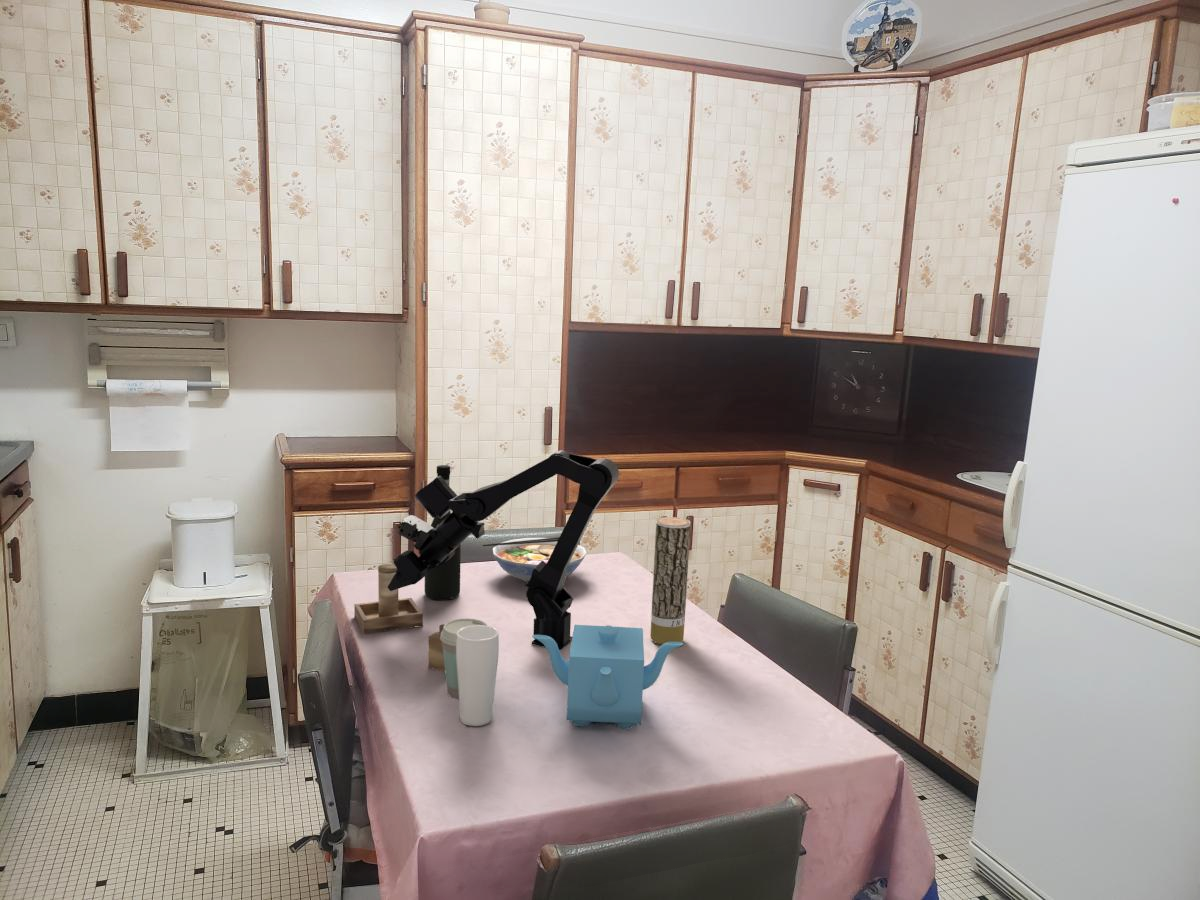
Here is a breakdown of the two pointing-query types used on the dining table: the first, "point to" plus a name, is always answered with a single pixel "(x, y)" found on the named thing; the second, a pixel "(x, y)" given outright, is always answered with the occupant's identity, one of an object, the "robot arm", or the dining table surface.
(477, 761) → the dining table surface
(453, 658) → the coffee cup
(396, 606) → the beech dowel
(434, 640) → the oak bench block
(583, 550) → the ramen bowl
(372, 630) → the walnut tray
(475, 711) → the drinking glass
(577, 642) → the teakettle
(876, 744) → the dining table surface
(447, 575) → the wine bottle
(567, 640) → the robot arm
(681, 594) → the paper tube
